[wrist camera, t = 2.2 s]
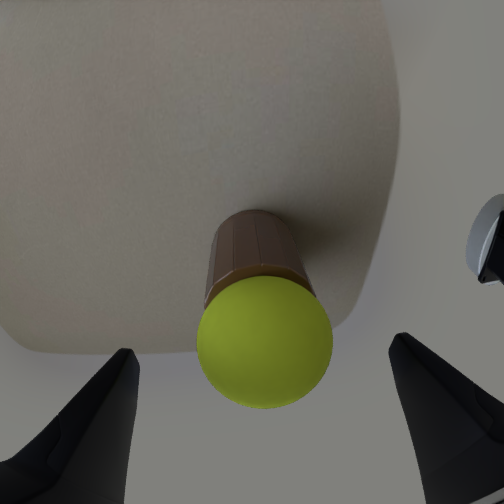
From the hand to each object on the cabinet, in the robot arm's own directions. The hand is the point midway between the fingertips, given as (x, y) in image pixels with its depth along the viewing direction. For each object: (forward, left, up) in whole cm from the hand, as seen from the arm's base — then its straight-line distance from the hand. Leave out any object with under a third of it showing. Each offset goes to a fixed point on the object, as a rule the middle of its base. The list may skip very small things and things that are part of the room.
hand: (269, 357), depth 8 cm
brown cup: (0, 0, -7) cm, 7 cm away
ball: (0, 0, -1) cm, 1 cm away
